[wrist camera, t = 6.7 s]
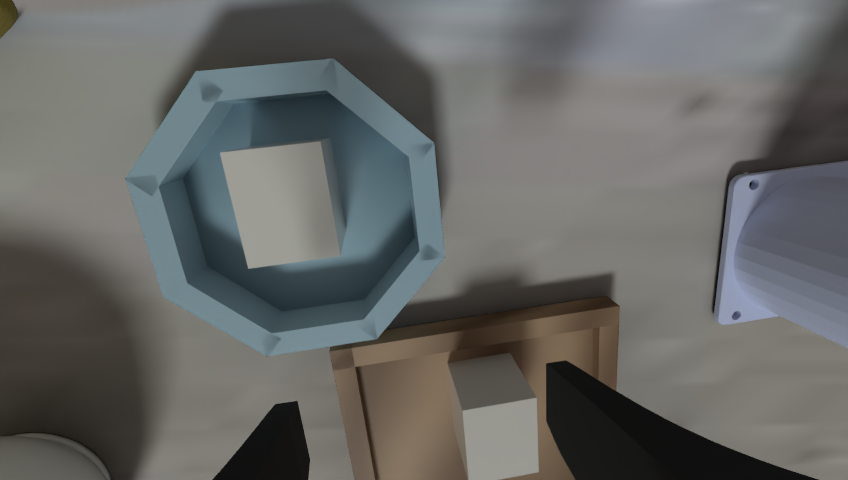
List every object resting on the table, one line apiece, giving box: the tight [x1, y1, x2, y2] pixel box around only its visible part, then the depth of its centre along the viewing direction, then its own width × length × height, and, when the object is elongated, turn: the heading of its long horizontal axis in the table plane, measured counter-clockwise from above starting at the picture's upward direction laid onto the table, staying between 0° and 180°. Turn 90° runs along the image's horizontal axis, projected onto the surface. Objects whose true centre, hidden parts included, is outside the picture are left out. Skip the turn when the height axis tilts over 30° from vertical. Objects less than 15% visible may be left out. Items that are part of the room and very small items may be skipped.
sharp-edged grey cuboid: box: [447, 353, 539, 480], centre depth 19 cm, size 3×4×4 cm
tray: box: [330, 296, 620, 480], centre depth 22 cm, size 14×15×1 cm
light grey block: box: [220, 137, 346, 269], centre depth 15 cm, size 3×4×4 cm
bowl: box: [125, 58, 445, 356], centre depth 17 cm, size 11×11×2 cm
